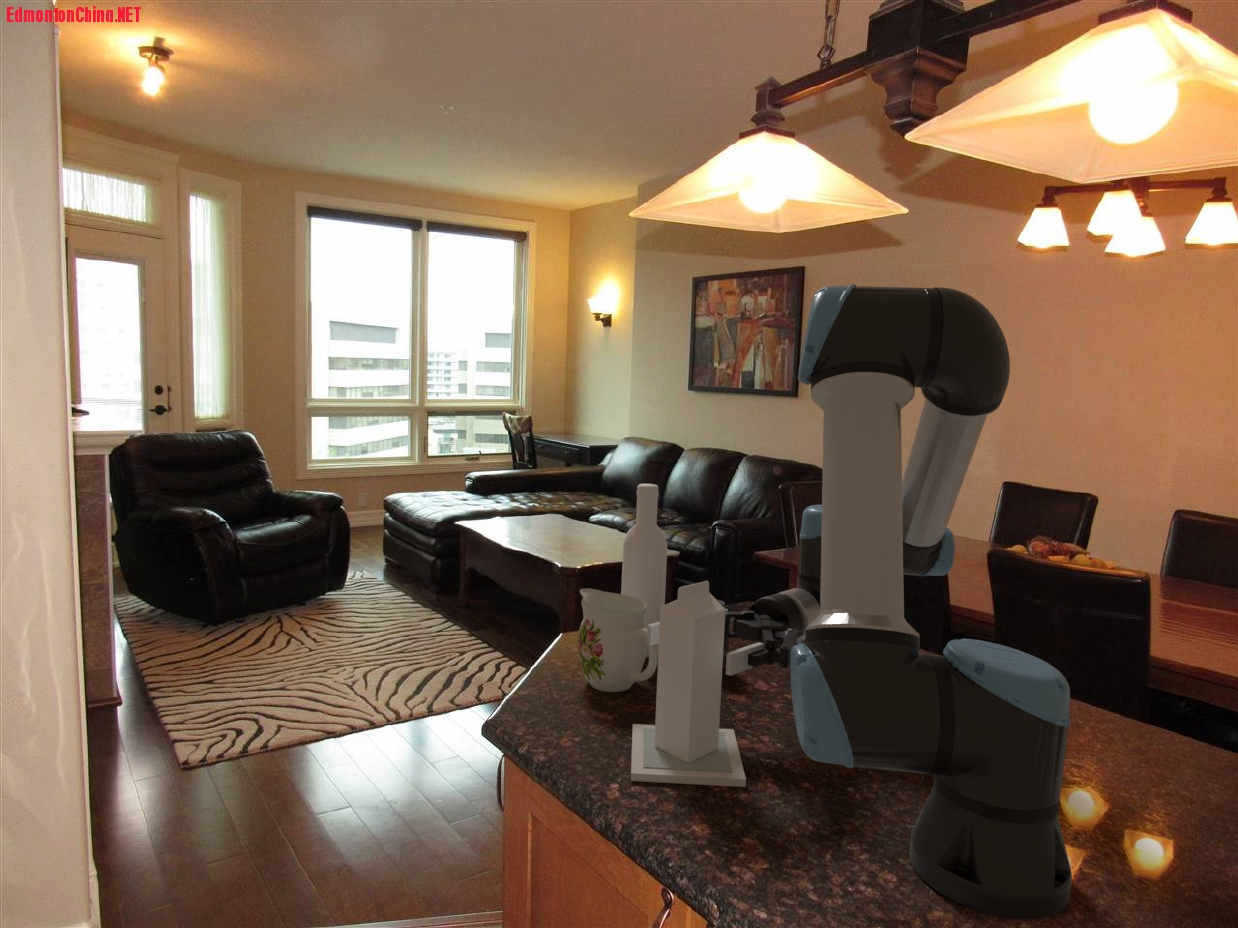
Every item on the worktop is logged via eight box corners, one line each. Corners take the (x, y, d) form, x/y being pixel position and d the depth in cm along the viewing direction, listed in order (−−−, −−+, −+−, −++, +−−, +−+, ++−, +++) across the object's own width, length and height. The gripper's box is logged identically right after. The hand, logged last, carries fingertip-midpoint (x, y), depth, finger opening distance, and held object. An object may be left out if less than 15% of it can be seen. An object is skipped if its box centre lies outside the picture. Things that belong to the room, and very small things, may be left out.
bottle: (634, 640, 153) (641, 480, 149) (671, 649, 148) (679, 485, 145) (609, 651, 146) (616, 484, 143) (647, 661, 142) (654, 489, 138)
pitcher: (626, 713, 120) (630, 622, 119) (553, 675, 134) (555, 593, 132) (679, 696, 127) (683, 610, 126) (605, 662, 141) (608, 583, 139)
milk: (718, 750, 107) (728, 585, 105) (687, 764, 103) (697, 593, 100) (683, 733, 112) (692, 575, 109) (652, 746, 108) (661, 582, 105)
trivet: (745, 786, 100) (746, 777, 100) (630, 780, 101) (631, 771, 101) (733, 735, 114) (733, 728, 114) (632, 730, 115) (632, 722, 115)
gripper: (858, 668, 112) (764, 708, 97) (715, 622, 130) (618, 650, 115) (862, 614, 111) (768, 647, 96) (718, 575, 129) (620, 598, 114)
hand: (686, 649), depth 105 cm, fingers open, 13 cm apart
